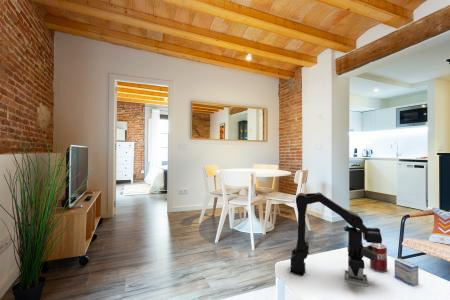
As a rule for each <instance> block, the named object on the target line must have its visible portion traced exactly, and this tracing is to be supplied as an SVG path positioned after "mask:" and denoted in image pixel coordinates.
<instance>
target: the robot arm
mask: <svg viewBox="0 0 450 300" xmlns="http://www.w3.org/2000/svg"><path fill="white" fill-rule="evenodd" d="M315 203H321V205H323V206H324V207H326V208H328V209H330V210H331V211H332V212H334V213H335V214H337V215H339V216H340V218H342V219H343V220H344V221H345V222H346V223H347V225H345V226H344V227H343V230H344V232H347V242H348V243H347V252H348V253H347V256H348V258H347V265H349V266H350V267H351V269H352V271H353V274H354V276H357V275H358V271H359V268H361V269H363V270H364V269H365V260H364V258H366V259H368V260H370V259H371V260H372V261H375V259H376V257H377V253H376V252H375V251H373V247H372V246H370V245H367V246H366V245H365V246H364V244H363V241H365V242H366V243H368V244H372V243H377V244H382V243H383V237H382V234H381V233H382V232H381V229H380V228H379V227H367V226H366V224H364V221H363V218H362V217H361V216H360V215H359V214H358V213H356V212H354V211H352V210H348V209H346V208H344V207H343V206H341V205H340V204H338V203H336V202H335V201H334V200H332V199H330V198H329V197H327V196H326V195H324V194H323V193H322V192H312V193H309V192H308V193H304V192H299V193H297V194H296V196H295V205H296V209H297V239H296V243H295V247H294V248H293V250H291V256H290V270H289V273H290V274H295V275H299V276H304V274H305V273H306V262H305V260H306V259H307V258H308V255H310V250H309V248H310V244H309V241H306V213H307V208H308V205H311V204H315Z"/></svg>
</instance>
